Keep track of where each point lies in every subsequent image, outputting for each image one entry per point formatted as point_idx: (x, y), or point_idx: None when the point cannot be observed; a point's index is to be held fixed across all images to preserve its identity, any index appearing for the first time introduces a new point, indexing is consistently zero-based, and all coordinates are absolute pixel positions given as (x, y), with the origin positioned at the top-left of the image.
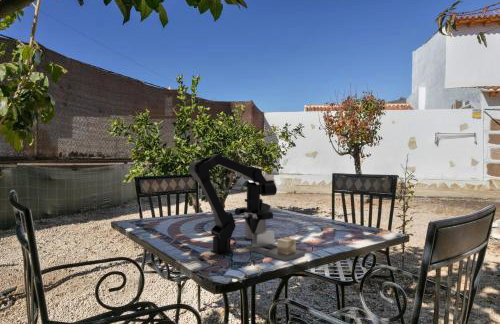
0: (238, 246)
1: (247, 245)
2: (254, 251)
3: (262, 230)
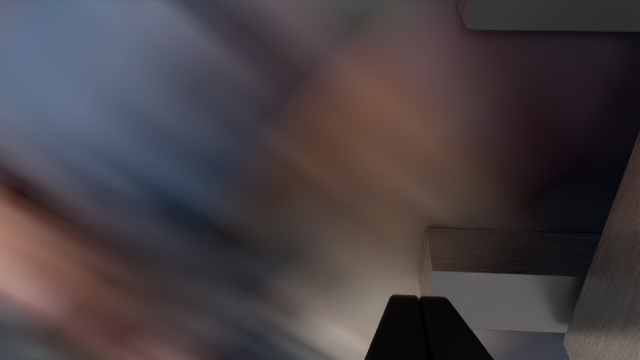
0: (223, 261)
1: None
2: None
3: None
